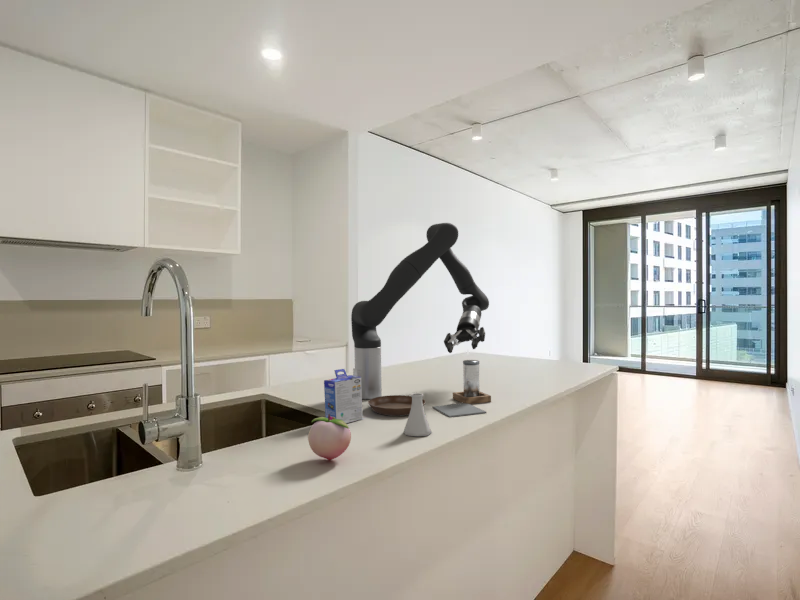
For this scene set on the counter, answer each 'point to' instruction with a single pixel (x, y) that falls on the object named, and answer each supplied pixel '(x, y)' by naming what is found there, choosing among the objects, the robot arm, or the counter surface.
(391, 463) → the counter surface
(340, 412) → the ink cartridge box
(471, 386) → the canister
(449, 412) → the rubber mat
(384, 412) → the plant saucer
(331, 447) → the decorative fruit
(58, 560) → the counter surface
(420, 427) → the flask
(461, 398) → the pocket frame
